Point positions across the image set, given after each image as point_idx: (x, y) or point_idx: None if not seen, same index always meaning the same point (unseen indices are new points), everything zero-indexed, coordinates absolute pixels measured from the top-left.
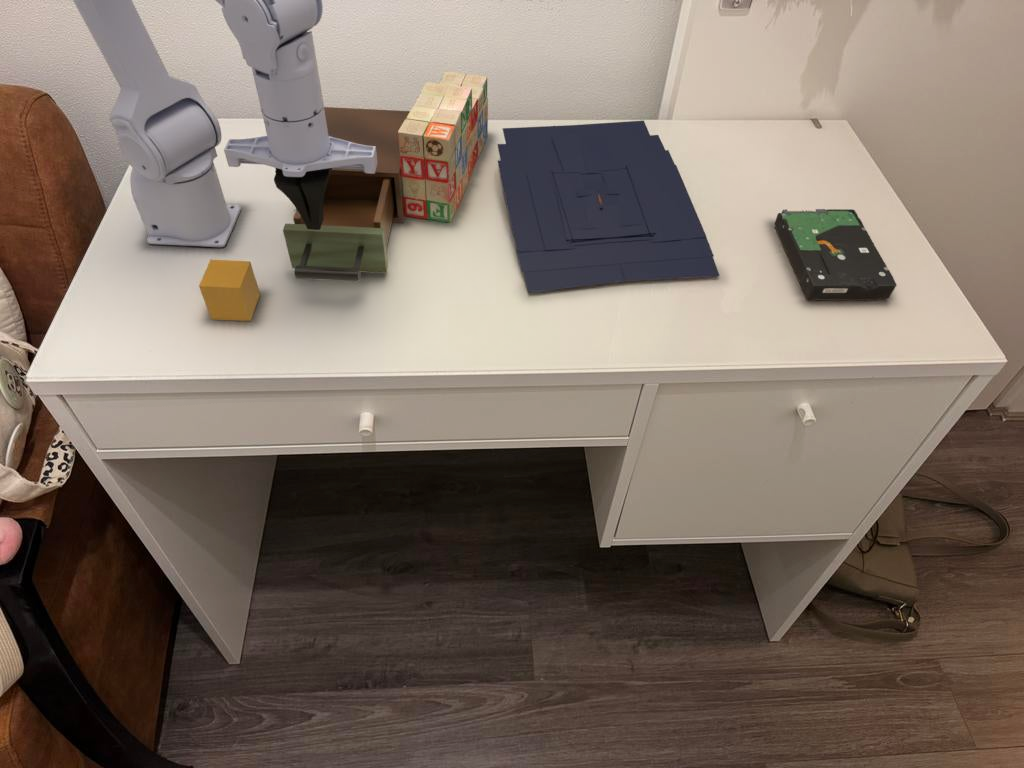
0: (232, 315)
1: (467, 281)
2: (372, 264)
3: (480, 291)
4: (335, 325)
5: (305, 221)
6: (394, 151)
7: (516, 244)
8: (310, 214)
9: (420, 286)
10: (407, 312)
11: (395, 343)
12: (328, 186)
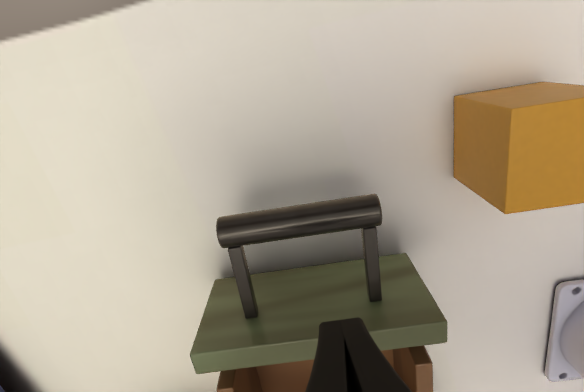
0: (499, 91)
1: (69, 294)
2: (237, 288)
3: (33, 275)
4: (269, 125)
5: (365, 338)
6: None
7: (2, 389)
8: (344, 368)
9: (148, 264)
10: (141, 194)
11: (125, 101)
12: None
